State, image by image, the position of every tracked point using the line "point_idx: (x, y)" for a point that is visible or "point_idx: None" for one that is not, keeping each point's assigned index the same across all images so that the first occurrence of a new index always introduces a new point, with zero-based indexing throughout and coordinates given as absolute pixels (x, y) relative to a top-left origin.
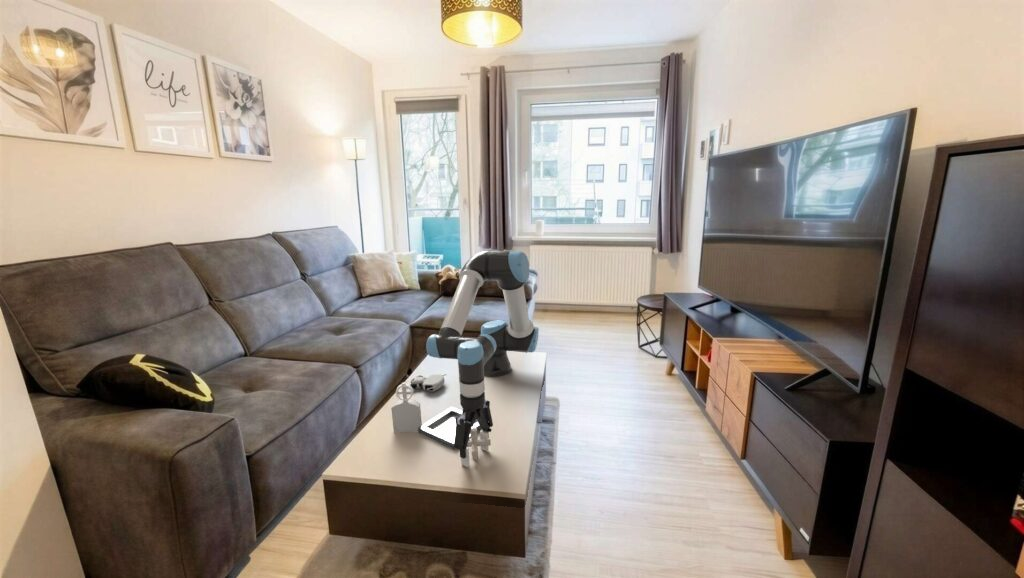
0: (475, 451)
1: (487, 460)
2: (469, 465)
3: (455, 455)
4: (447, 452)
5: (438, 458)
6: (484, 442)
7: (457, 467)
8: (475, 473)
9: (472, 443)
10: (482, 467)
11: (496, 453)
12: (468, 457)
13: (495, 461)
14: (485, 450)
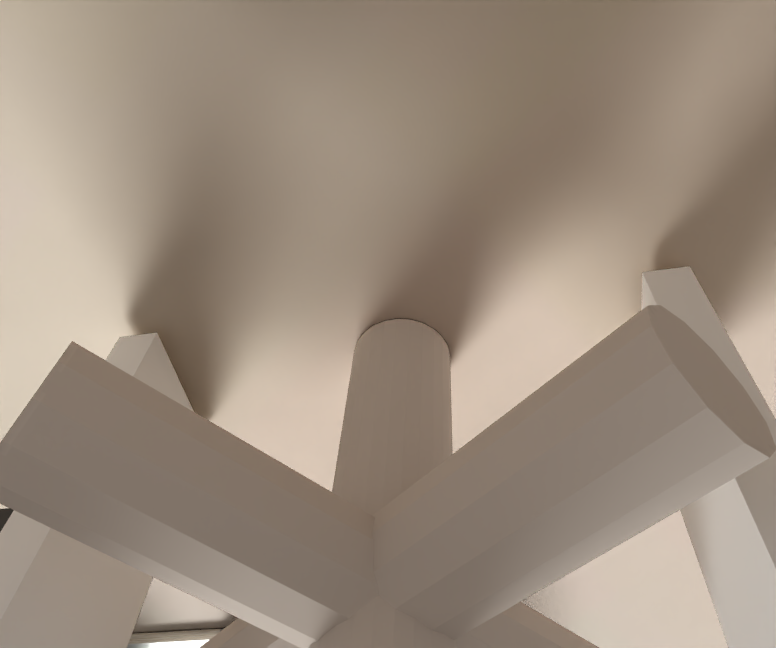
0: (722, 416)
1: (289, 166)
2: (653, 280)
3: None
4: (574, 624)
5: None
6: (191, 502)
7: (759, 383)
8: (738, 45)
9: (457, 638)
10: (501, 81)
11: (35, 190)
12: None
13: (177, 20)
14: (169, 364)
